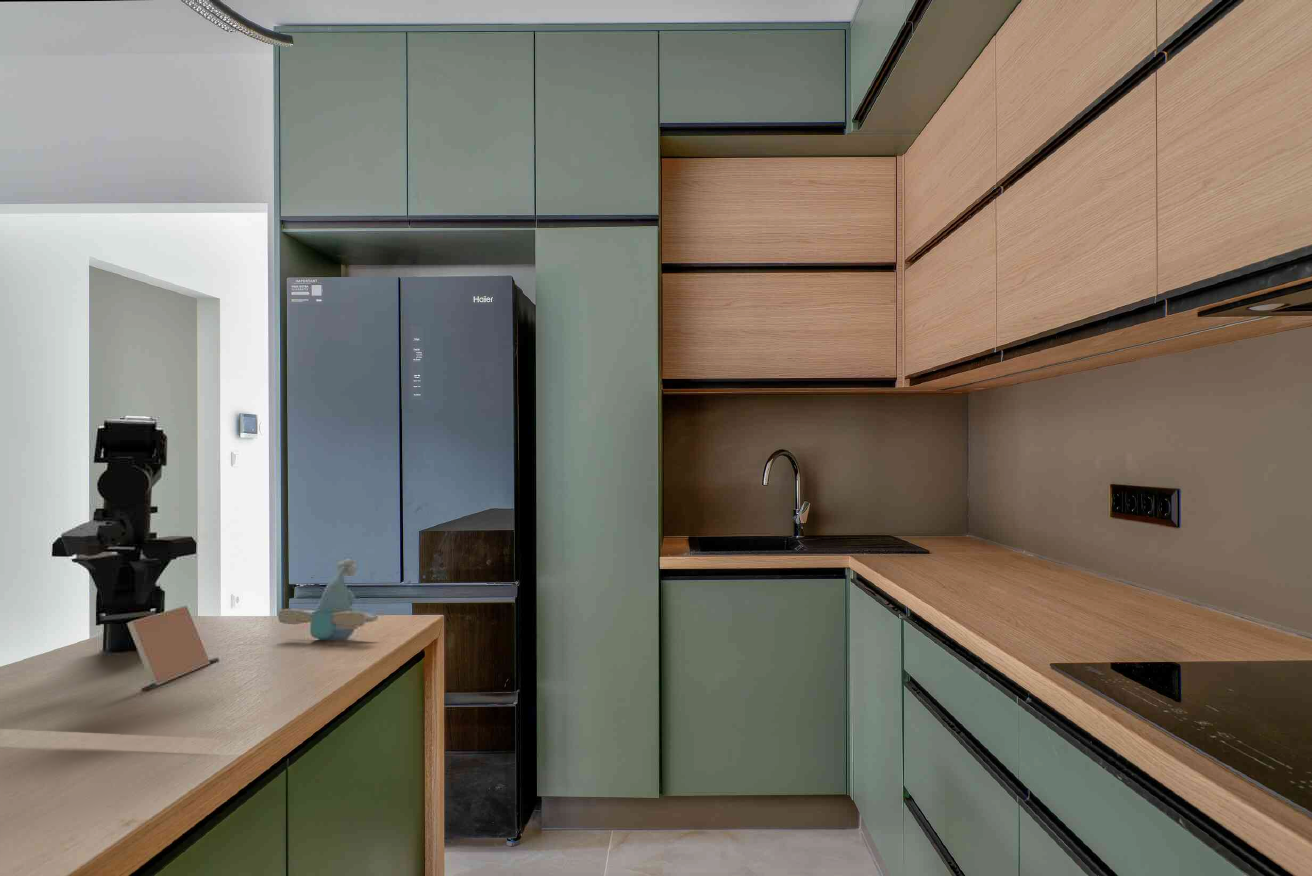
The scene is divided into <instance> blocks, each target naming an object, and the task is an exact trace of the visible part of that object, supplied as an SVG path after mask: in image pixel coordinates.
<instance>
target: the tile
mask: <svg viewBox="0 0 1312 876" xmlns="http://www.w3.org/2000/svg"><path fill="white" fill-rule="evenodd" d="M191 615H192V614H191V613H190V610H189V607H188V606H187V605H183V606H179V607H176V608H173V609H169V610H166V611H165V610H164V612H162V613H158V614H155V615H151V616H148V617H144V618H141V619H137V620H134V621H131V622H129V623H127V625H128V628H129V630H130V633H131V635H132V638H133V640H134V642H135V645H136V647H137V650H138V651H137V652H138V655H139V657H140V659H141V662H142V664H143V667H144V669H145V673H146V674H147V678H148V679H149V681H150V685H151V684H153V683H155V684H156V685H157V686H160V685H162V684H165V683H166V682H168V681H171V680H174V679H176V678H179V677H181V676H183V675H185V674H188V673H190V672H193V671H195V670H198V669H200V668H202V667H205V666H207V665H210V664H209V663H210V662H209V660H210V659H209V656H208V655H207V653H206V649H205V647H204V645H203V642H202V639H201V637H200V635H199V632H198V630H197V628H196V625H195V623H194V621H193V617H192V616H191Z"/></svg>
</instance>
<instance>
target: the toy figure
mask: <svg viewBox="0 0 1312 876" xmlns="http://www.w3.org/2000/svg"><path fill="white" fill-rule="evenodd" d="M336 569H337V570H339V572H338V573H337V574H336V575H335V576H334V578H333V579H331V580H330V581H329V583H328V584H326V587H325V589H324V591H323V593H322V595H321V597H320V600H319V602H318V605H317V608H316V610H311V609H310V610H309V609H305V610H304V609H303V610H301V609H299V608H284V609H280V610H279V612H278V622H279V623H282V624H286V625H300V624H305V623H306V624H307V623H310V630H309V631H310V632H309V633H310V635H311V637H313V638H314V639H317V640H319V641H333V642H344V641H346V640H348V639H349V638H350V637H351V636H352V634H353V633H354V631H355V630H357V629H358V627H363V626H364V625H365V623H373V622H375V621H377V620H378V617H379V616H378V615H377V614H373V612H366V611H365V612H360V611H353V610H352V607H351V606H352V605H354V603H355V602H356V601H355V598H356V597H355V594H354V593H353V591H351V590H350V589H348V586H347V583H346V580H345V579H344V577H351V576H354V574H356V572H357V566H356V565H355V564H354V560H353V559H350V558H348V559H345V560H344V561H339V562H338V563H337V565H336Z"/></svg>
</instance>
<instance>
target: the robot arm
mask: <svg viewBox="0 0 1312 876" xmlns="http://www.w3.org/2000/svg"><path fill="white" fill-rule="evenodd" d="M167 460H168V436H167V435H166V434H165V433H164V429H163V428H162V427H158V423H157V421H156V417H152V416H146V415H124V416H120V417H119V418H115V419H114V418H106V419H105V420H104V421H103V425H98V427H97V432H96V440H95V448H94V456H93V463H94V464H107V465H106V467H107V468H106V470H104V471H103V472H102V473H101V475H99V478H98V479H97V482H96V489H97V492H98V494H99V496H101V498H102V499H103V503H102V504H103V506H102V507H98V508H95V511H93V516H92V517H93V518H92V520H90V521H87V522H84V523H82V524H79V525H77V526H75V527H73V528H71V529H68V530H67V531H65V532H63V533H62V534H60V537H59V536H58V538H56V540H55V541H54V542H53V543H52V545H51V557H57V558H59V557H60V558H68V557H69V558H70V557H72V556H75V558H72V559H71V562H73V563H75V564H78V565H80V566H82V567H84V568H85V569H86V570H87V571H88V573H89V575H90V577H91V579H92V581H93V583H94V586H95V588H96V595H95V597H96V598H95V626H101V625H103V631H102V632H103V633H102V635H103V636H102V651H106V652H108V653H127V652H138V650H137V647H136V645H135V642H134V640H133V638H132V635H131V633H130V630H129V628H128V625H127V623H129V622H131V621H134V620H137V619H141V618H144V617H148V616H151V615H155V614H158V613H162V612H165V602H166V601H165V599H166V591H165V590H164V589H162V588H163V587H161V583H157V582H158V580H159V578H160V576H161V575H162V574H163V572H164V571H165V570H166V568H167V567H168V565H169V564H170V563H171V561H174V560H177V558H180V557H185V556H186V557H187V556H192V555H196V554H197V547H198V546H197V541H196V540H195V538H194V537H193V536H188V535H187V536H185V535H184V536H183V535H182V536H180V535H170V536H169V535H168V536H162V537H157V536H158V535H157V534H158V533H157V532H156V531H155V532H153V531H152V532H151V519H152V517H151V514H157V513H158V512H159V511H158V510H159V508H158V507H159V506H155V505H153V506H152V496H153V495H152V494H153V493H152V492H153V491H152V489H153V487H154V486H155V485H156V483H158V481H160V479H161V478H162V474H163V473H162V472H163V467H166V466H167V464H168V461H167ZM153 609H155V610H153Z"/></svg>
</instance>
